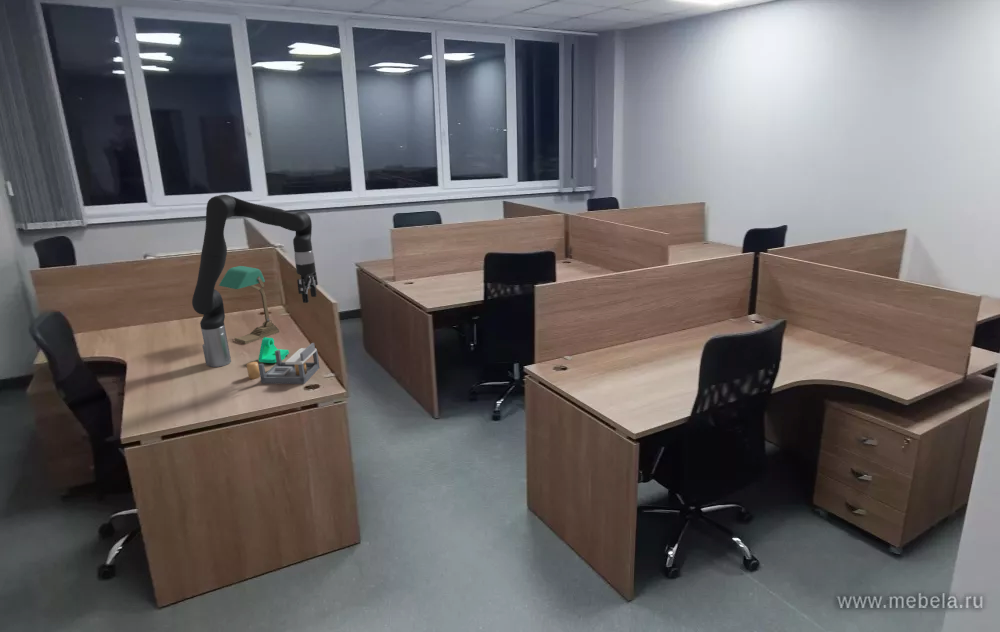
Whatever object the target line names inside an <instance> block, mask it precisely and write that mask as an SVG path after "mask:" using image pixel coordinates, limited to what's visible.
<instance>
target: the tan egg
mask: <svg viewBox="0 0 1000 632" xmlns="http://www.w3.org/2000/svg"><path fill="white" fill-rule="evenodd" d="M258 365H259V361H250V362H247V363H246V369H247V375H248V376H247V377H248V379H249V380H257V379H259V378H261V377H260V372H259V366H258Z"/></svg>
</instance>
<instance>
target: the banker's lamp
mask: <svg viewBox="0 0 1000 632" xmlns="http://www.w3.org/2000/svg"><path fill="white" fill-rule="evenodd" d="M265 282H266V281H265V278H264V274H263V272H262V271H261V269H259V268H255V267H251V266H243V265H238V266H234V267H230V268H228V270H227V271H226V273H225V274H224V276H223V278H222V279H221V281H220V283H219V285H218V286H219V287H224V288H228V289H233V290H238V289H240V290H241V289H244V288H247V287H249V288H252V289H255V290H258V292H259V293H260V295H261V302H262V308H263V312H264V314H263V315H264V319H265V321H263V322H262V325H261V326H257V327H256V328H254V329H253V330H252V331H251V332H250V333H248V334H245V335H242V336H240V337H233V338H234V342H237V343H238V344H239V343H240V344H243V345H247V344H250V343H253V342H256V341H259V340H262V339H263V338H264V337H267V338H268V337H271V336H273V335H274V334H275V335H276V334H278V333H280V328H278V326H277V325H276V324H274V322H273V321H272V320H271V319H270V314H269V308H268V302H267V301H268V300H267V296H266V293H265V290H264V288H265V284H264V283H265ZM258 284H260V286H261V287H260V286H258Z"/></svg>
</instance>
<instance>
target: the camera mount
mask: <svg viewBox="0 0 1000 632" xmlns="http://www.w3.org/2000/svg"><path fill="white" fill-rule="evenodd" d="M260 343H261V344H260V349H259V354H258V363H263V364H266V363H267V364H277V362H276V356H275V351H276V350H280V355H281V361H282V362H283V361H284V360H285V359H286V356H287V355H289V354H290V352H289V349H281V348H277V346H276V345H275V339H274V337H268V336H267V337H264V338H262V339H261V342H260Z"/></svg>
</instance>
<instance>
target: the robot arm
mask: <svg viewBox="0 0 1000 632" xmlns="http://www.w3.org/2000/svg"><path fill="white" fill-rule="evenodd" d="M205 209H206V211H205V228H204V236H203V241H202V243H203V244H202V248H201V254H200V262H199V269H198V273H197V274H198V275H197V280H196V285H195V288H194V292H193V295H192V299H191V304H192V308H193V311H195V312H196V313H197V314H199V315H202V318H201V320H200V321H199V322H200V323H199V325H200V330H201V336H202V339H203V344H202V350H203V351H202V352H203V355H204V361H205V365H206V366H208V367H211V368H218V367H223V366H227V365H229V364H230V363H231V362H232V359H231V353H230V348H229V341H228V336H227V330H226V327H225V319H226V315H225V307H224V301H223V298H222V295H221V293H220V292H219V291H218V290H217V289H215V287H216V284H217V281H218V280H219V278H220V276H221V274H222V273H223V270H224V268H225V264H226V260H227V254H228V247H227V242H226V239H225V233H224V232H225V226H226V222H227V219H228V218H231V217H244V218H249V219H252V220H254V221H257V222H259V223H262V224H265V225H271V226H275V227H280V228H282V229H285V230H289V231H291V232H295V235H294V238H293V239H292V244H293V253H294V262H295V264H294V265H295V270H296V274H297V275H300V279H299V278H297V280H296V283H297V290H298V291H297V292H298V294H300V295H301V297H302V302H303V303H307V304H308V303H309V294H308V292H309V291H310V297H313V298H315V297H317V286H318V285H319V282H318V276H317V272H316V264H315V263H316V262H315V256H314V250H313V243H312V231H313V229H312V227H313V226H312V225H313V224H312V219H311V216H310V214H308V213H307V212H305V211H298V212H296V213H291V212H287V211H285V210H284V209H282V208H279V207H271V206H267V205H261V204H257V203H252V202H249V201H246V200H244V199H243V200H242V199H240V198H237V197H234V196H232V195H229V194H219V195H215V196H212V197H210V199H208V201H207V203H206V208H205ZM308 290H309V291H308Z"/></svg>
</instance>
